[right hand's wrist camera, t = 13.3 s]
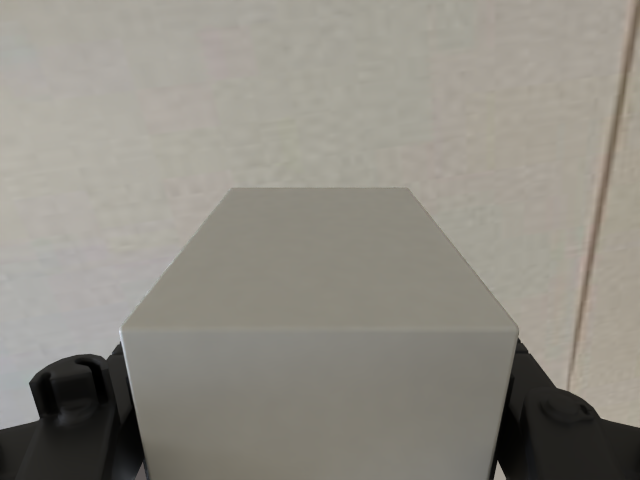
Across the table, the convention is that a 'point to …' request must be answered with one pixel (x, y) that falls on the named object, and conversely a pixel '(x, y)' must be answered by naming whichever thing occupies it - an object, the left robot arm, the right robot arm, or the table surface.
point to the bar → (319, 345)
